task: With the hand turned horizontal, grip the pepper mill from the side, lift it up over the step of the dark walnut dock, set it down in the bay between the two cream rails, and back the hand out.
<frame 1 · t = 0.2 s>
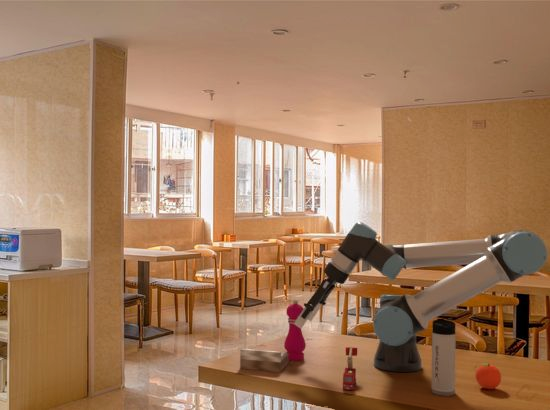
hand: (302, 322, 186), 15 cm above the table, tool tilted 35°, fingers open, 13 cm apart
toy fire truck: (349, 384, 171), on the table
travel mug: (443, 393, 164), on the table
dock: (264, 365, 189), on the table
pepper mill: (294, 359, 199), on the table
clementine: (486, 389, 168), on the table
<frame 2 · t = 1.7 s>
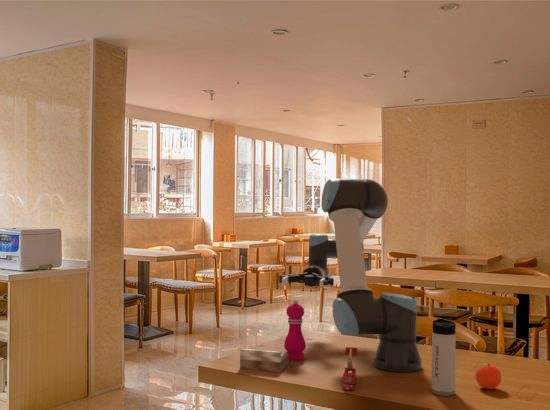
hand: (301, 283, 207), 24 cm above the table, tool horizontal, fingers open, 13 cm apart
nothing on the table moved.
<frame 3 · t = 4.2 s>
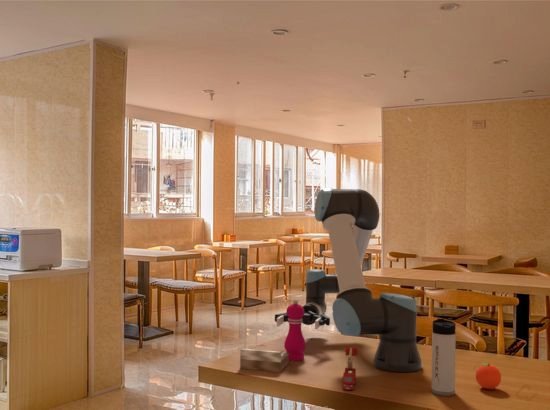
hand: (296, 323, 203), 11 cm above the table, tool horizontal, fingers open, 13 cm apart
nothing on the table moved.
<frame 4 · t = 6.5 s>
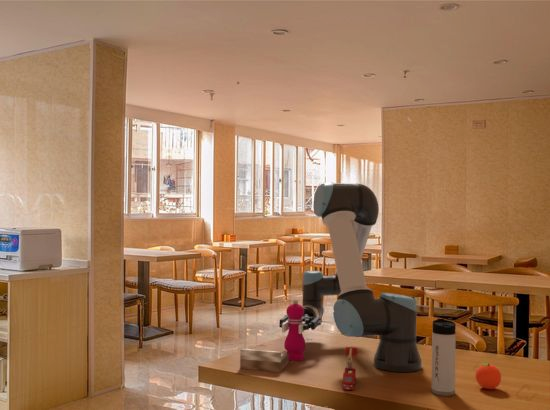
hand: (291, 328, 194), 11 cm above the table, tool horizontal, fingers closed on pepper mill, 5 cm apart
pepper mill: (294, 359, 199), on the table, touching gripper
everything else where it was.
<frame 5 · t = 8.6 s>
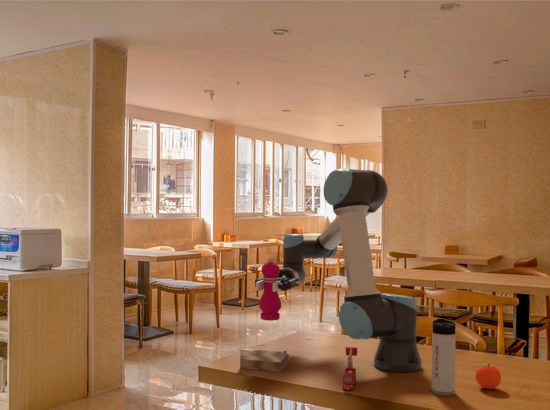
hand: (265, 287, 187), 26 cm above the table, tool horizontal, fingers closed on pepper mill, 5 cm apart
pepper mill: (270, 319, 192), point 14 cm above the table, touching gripper
everything else where it was.
when the fingers open (15 cm above the table, at t = 11.2 s): pepper mill stays where it is, resting on dock.
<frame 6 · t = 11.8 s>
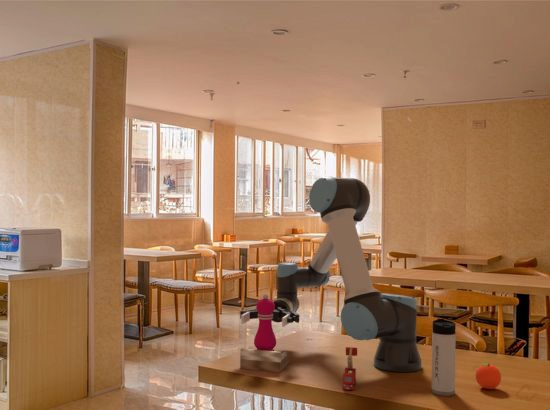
hand: (262, 320, 186), 15 cm above the table, tool horizontal, fingers open, 13 cm apart
pepper mill: (264, 356, 189), point 3 cm above the table, touching dock
everything else where it was.
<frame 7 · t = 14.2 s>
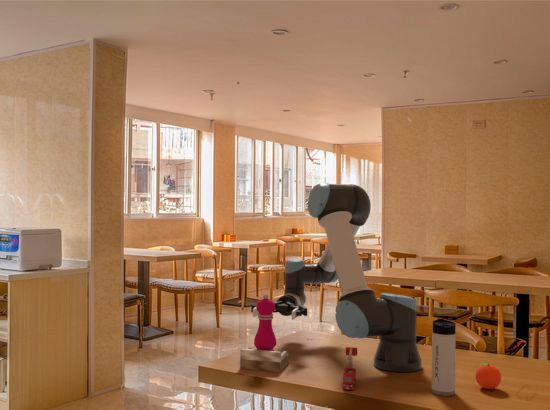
hand: (273, 314, 198), 15 cm above the table, tool horizontal, fingers open, 13 cm apart
nothing on the table moved.
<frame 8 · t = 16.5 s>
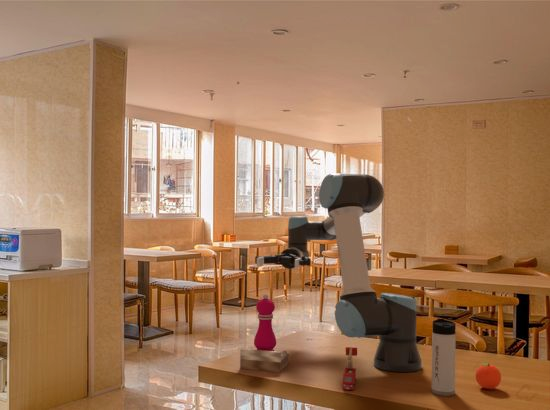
hand: (276, 262, 201), 32 cm above the table, tool horizontal, fingers open, 13 cm apart
nothing on the table moved.
at the end: pepper mill 0.0 cm from the dock (horizontally); pepper mill tilted 0°; pepper mill touching dock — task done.
